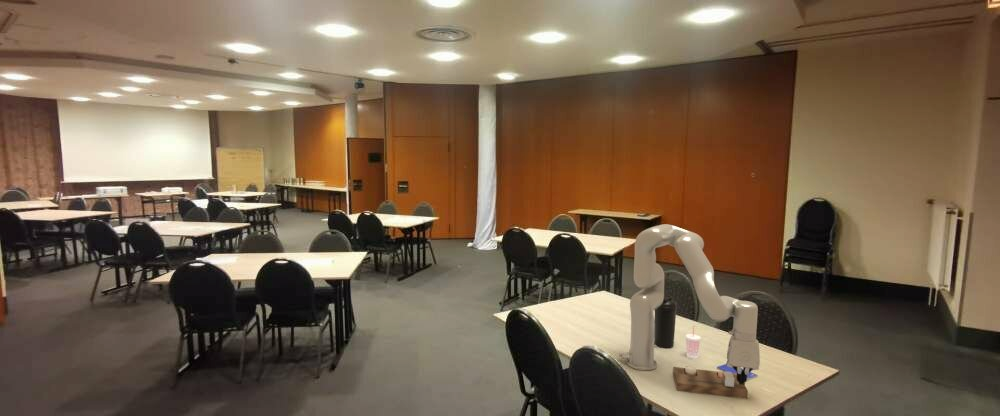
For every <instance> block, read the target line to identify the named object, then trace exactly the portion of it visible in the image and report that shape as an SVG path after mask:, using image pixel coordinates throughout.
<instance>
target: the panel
mask: <svg viewBox="0 0 1000 416" xmlns="http://www.w3.org/2000/svg"><path fill="white" fill-rule="evenodd" d="M672 369H673V370H672V374H673V375H672V376H673V379H674V384H675V388H676V391H678V392H684V393H685V392H688V393H695V394H703V395H712V396H717V397H718V396H720V397H728V398H736V399H744V400H748V399H749V390H748V389H747V387H746V384H745V385H743V384H742V385H740V384H739V382H738V381H737V374H736V373H732V375H733V376H734V387H728V386H725V385H724V383H723V381H722V378H718V373H719V372H720V371H715V370H707V369H706V370H704V369H698V368H696V375H687V374H685V367H679V366H673V367H672Z"/></svg>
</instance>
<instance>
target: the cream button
mask: <svg viewBox="0 0 1000 416" xmlns="http://www.w3.org/2000/svg"><path fill="white" fill-rule="evenodd" d="M684 368H685V374H687V375H696V369H697V367H696V366H694V365H690V364H689V365H688V364H687V365H685V367H684Z"/></svg>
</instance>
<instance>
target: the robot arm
mask: <svg viewBox="0 0 1000 416" xmlns="http://www.w3.org/2000/svg"><path fill="white" fill-rule="evenodd" d="M667 245H668V246H670V247H673V248H674V249H675V252H676V253H677V255H678V257H679V258H680V260H681V262H682V263H683V265H684V267H685V268H686V270H687V271H688V274H689V275H690V277H691V279H692V283H693V286H694V291H695V293H696V296H697V299H698V300H699V303H700V305H701V306H702V308H703V309H704V311H705V313H706V314H707V315H708V316H709V317H710V319H712V320H713V321H715V322H717V323H718V322H719V323H721V322H725V321H727V320H728V319H729V318H731V317H733V323H732V324H733V327H732V330H728V335H730V339H729V341H728V345H727V346H728V347H727V351H726V352H727V353H726V359H727V360H726V363H725V364H726V365H727V366H728V367H731V368H734V369H735V370H736V371H737V381H738V382H739V384H740V385H742V384H743V385H745V386H746V383H747V382H748V381H747V375H748V373H749V372H751V373H752V371H758V370H759V368H760V365H761V364H760V363H761V362H760V361H761V359H760V357H761V356H760V355H761V353H760V352H761V351H760V342H759V340H758V339H757V329H758V327H757V326H758V314H759V313H758V311H759V309H758V307H759V306H758V305H757V304H756V303H755V302H753V301H749V300H740V299H737V298H734V297H731V296H728V295H720V294H719V292H718V290H717V288H716V285H715V278H714V277H715V270H714V267H713V265H712V264H711V262H710V260H709V259H708V258H707V256H706V254H705V253H704V251H703V249H704V247H705V242H704V239H703V238H702V237H701V236H700V235H699V234H698V233H695V232H693V231H690V230H687V229H684V228H680V227H678V226H676V225H672V224H668V223H666V224H665V223H664V224H659V225H655V226H652V227H649V228H646V229H645V230H644V229H643V231H641V232H639V234H637V236H636V237H635V241H634V259H633V260H634V261H633V282H634V284H635V286H636V287H638V288H639V289H641V290H639V291H637V292H636V293H634V294H633V295H632V296H631V298H630V301H629V310H630V343H629V344H630V349H629V351H626V352H625V351H619V353H618V356H619V357H621V358H622V360H623V359H625V362H626V364H627V366H629V367H630V368H633V369H636V370H639V371H653V370H655V369H656V368H657V367H658V362H657V360H655V359H654V355H655V354H654V353H655V344H654V334H655V314H654V312H655V309H657V308H658V307H659V306H661V304H662V303H663V299H664V295H665V272H664V269H663V267H662V266H661V265H660V264H659V263H657V254H656V248H661V247H665V246H667ZM741 368H742V369H743V370H742V372H741Z"/></svg>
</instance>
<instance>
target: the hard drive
mask: <svg viewBox="0 0 1000 416" xmlns="http://www.w3.org/2000/svg"><path fill="white" fill-rule="evenodd" d="M716 370H718V371H719V372H722V371H726V372H731V373H736V374H737V371H736V370H735V369H734V368H731V367H728V366H727V365H726V363H725V364H722V365H719V366H717V367H716ZM742 370H743V367H741V372H742ZM756 378H758V374H756V373H753V372H752V371H751V372H749V373H748V375H747V381H746V382H748V381H750V380H753V379H756Z"/></svg>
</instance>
